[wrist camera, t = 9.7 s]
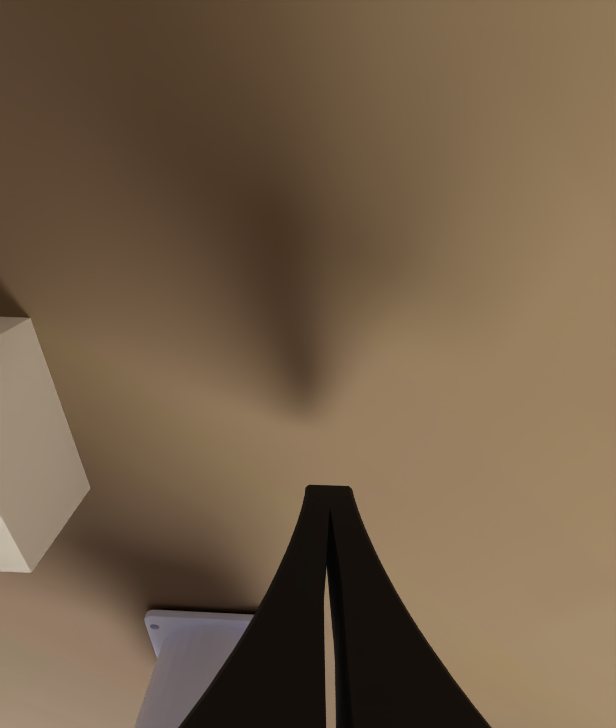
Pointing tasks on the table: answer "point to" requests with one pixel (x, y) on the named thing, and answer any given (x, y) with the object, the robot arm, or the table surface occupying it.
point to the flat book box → (32, 452)
